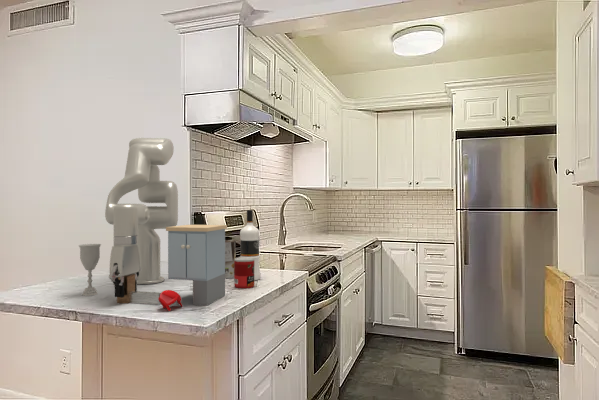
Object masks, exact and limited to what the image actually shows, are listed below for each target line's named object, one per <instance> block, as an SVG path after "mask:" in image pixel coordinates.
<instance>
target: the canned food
mask: <svg viewBox="0 0 599 400" xmlns="http://www.w3.org/2000/svg"><path fill="white" fill-rule="evenodd" d="M233 280H234V282H233V285H234V288H236V289H243V290H244V289H245V290H246V289H251V288H254V287H255V281H254V258H240V257H236V259H234V278H233Z"/></svg>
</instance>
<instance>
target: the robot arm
mask: <svg viewBox="0 0 599 400" xmlns="http://www.w3.org/2000/svg"><path fill="white" fill-rule="evenodd" d="M128 148H129V149H128V153H127V158H126V159H127V160H126V165H125V172H124V177H123V178H122V179H121V180H120V181H118V182H117V183H116V184H115V185H114V186H113V187H112V189H111V190H110V192H109V193H108V195H107V199H106V205H105V209H104V213H105V214H104V215H105V216H104V217H105V220H106V222H107V223H108V224H109V225H113V245H112V246H111V251H110V257H109V258H110V259H109V274H108V279H109V280H110V281H111V282H112V283H113V284H112V285H113V286H114V297H115V298H117V297H121V298H122V297H124V285H123V281H124V276H127V275H131V274H135V291H138V288H137V287H138V286H137V285H151V284H152V285H153V284H160V283H162V282H165V277H164V276H161V239H160V236H159V234H158V233H157V232H156V231H155V230H166V227H172V226H178V220H179V214H178V213H179V190H178V186H177V184H176V183H175V182H174V181H172V180H161V179H160V167H159V166H165V165H167V164H168V163H169V161H170V160H171V159H172V157H173V155H174V151H175V150H174V143H173V141H172V140H171V139H169V138H161V137H160V138H157V137H156V138H155V137H154V138H153V137H136V138H132V139H131V140H130V141H129V143H128ZM136 190H137V196H138V200H139V202H141V203H119V202H120V200H121V198H122V197H124V196H125V195H127V194H129V193H130V192H133V191H136ZM143 203H144V204H143ZM145 204H165V206H163V205H161V206H160V205H159V206H158V205H154V206H151V205H150V206H149V205H148V206H147V205H145ZM118 278H120V280H119V279H118Z"/></svg>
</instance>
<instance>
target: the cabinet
mask: <svg viewBox="0 0 599 400" xmlns="http://www.w3.org/2000/svg"><path fill="white" fill-rule="evenodd" d="M226 229H228V225H227V224H183V225H176V226H172V227H166V229H165V232H167V254H168V255H167V265H168V266H167V273H168V274H167V277H168V278H167V279H168V280H176V281H177V280H178V281H181V280H182V281H192V306H209V305H211V304H212V303H214V302H217V301H218V300H220V299H222V298H224V297H225V296H226V278H225V240H226Z"/></svg>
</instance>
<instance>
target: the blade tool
mask: <svg viewBox="0 0 599 400" xmlns="http://www.w3.org/2000/svg"><path fill="white" fill-rule="evenodd" d="M118 279H119V280H120V278H118ZM123 285H124V297H122V298H121V297H116V303H117V304H140V305H141V304H143V305H158V306H160V305H162V304H161V303H160V302H159V300H158V298H159V297H160V294H161V293H162V292H156V291H155V292H154V291H139V290H137V291H135V274H131V275H127V276H124V281H123Z"/></svg>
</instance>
